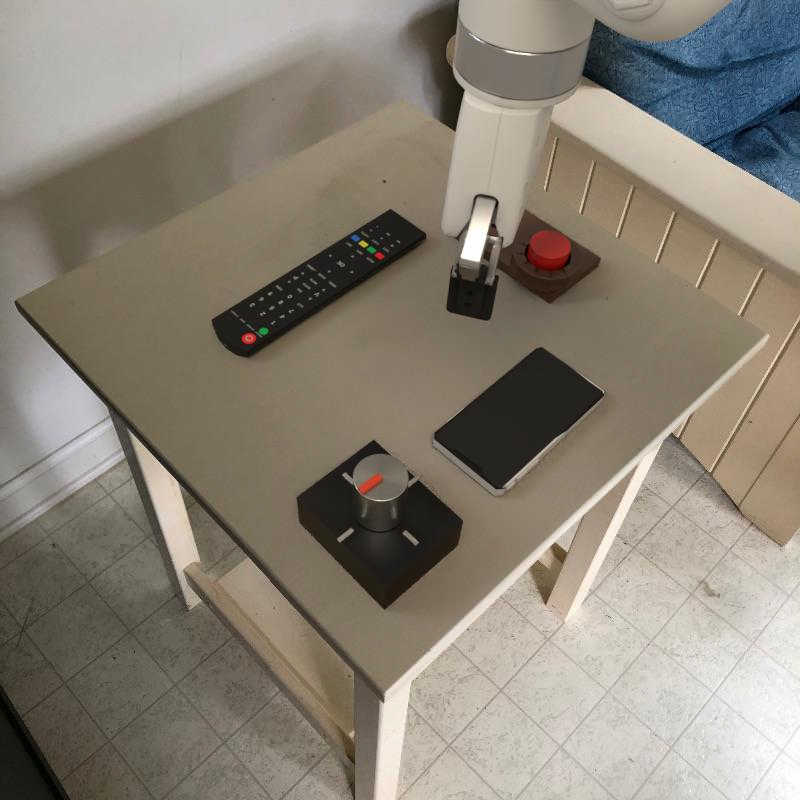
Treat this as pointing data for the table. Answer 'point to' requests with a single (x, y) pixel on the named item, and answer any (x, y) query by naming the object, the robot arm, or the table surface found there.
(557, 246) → the light button
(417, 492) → the dimmer panel
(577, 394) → the smartphone
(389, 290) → the table surface
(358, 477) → the dimmer knob
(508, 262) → the switch block
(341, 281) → the remote control
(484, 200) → the robot arm
